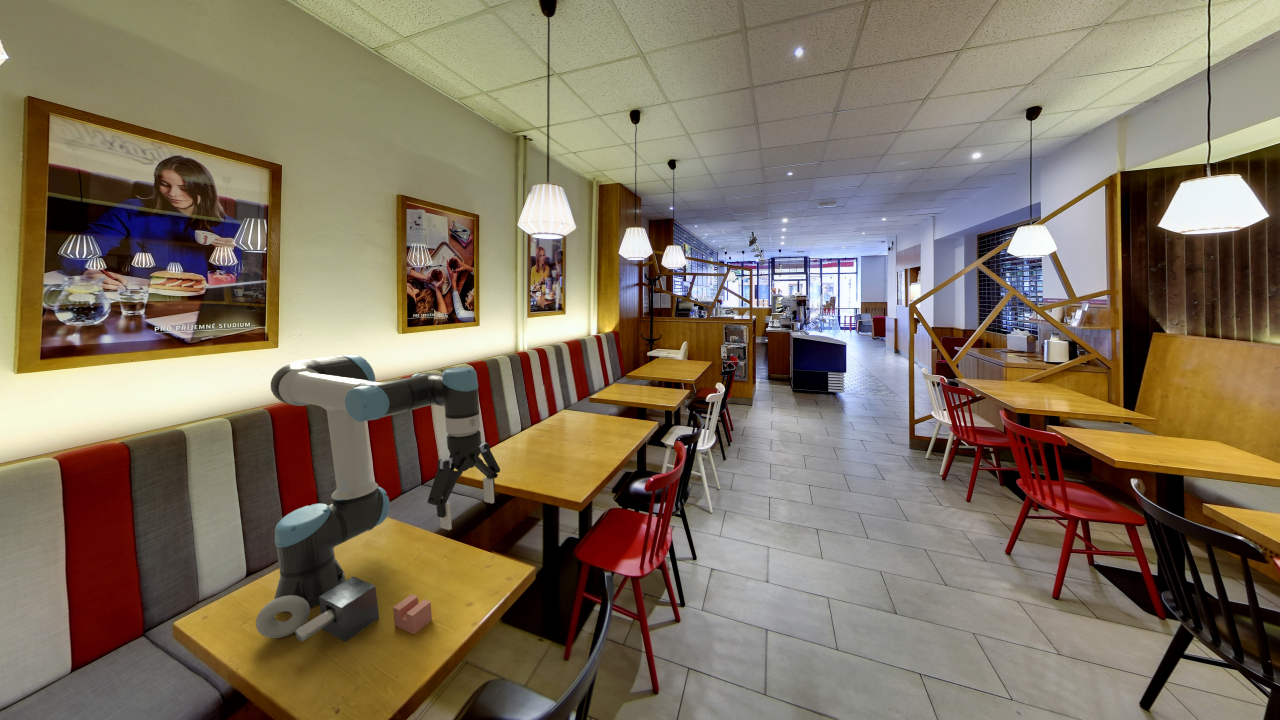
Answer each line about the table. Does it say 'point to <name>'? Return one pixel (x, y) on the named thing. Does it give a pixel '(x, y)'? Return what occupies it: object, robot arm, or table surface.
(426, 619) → the v block
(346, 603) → the block with square hole
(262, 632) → the donut
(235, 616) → the table surface
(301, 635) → the axle
